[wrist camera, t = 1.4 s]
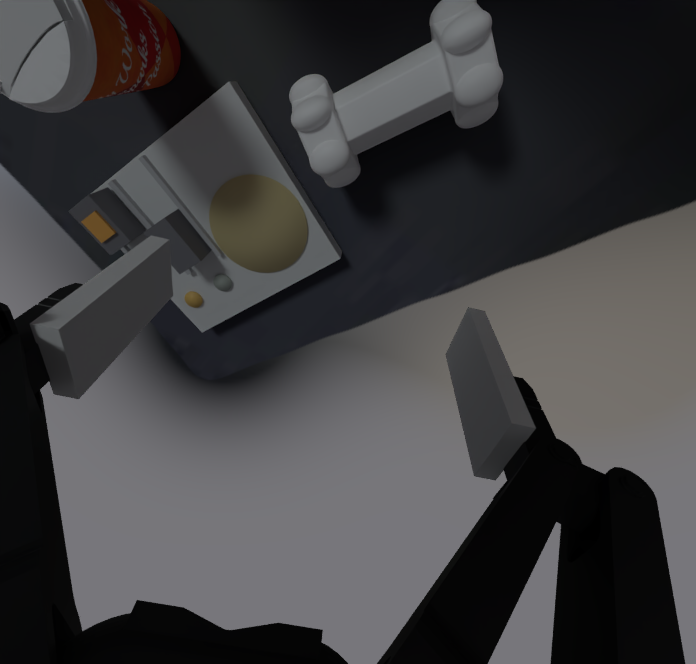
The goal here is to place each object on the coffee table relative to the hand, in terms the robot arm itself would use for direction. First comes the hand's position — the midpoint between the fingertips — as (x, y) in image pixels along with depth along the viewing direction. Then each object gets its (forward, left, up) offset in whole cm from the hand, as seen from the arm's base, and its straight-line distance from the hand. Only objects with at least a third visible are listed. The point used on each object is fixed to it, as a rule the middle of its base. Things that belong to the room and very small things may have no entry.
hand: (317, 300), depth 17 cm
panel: (-3, -15, -24) cm, 29 cm away
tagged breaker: (-9, -22, -22) cm, 33 cm away
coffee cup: (-18, -10, -25) cm, 32 cm away
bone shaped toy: (-4, +6, -25) cm, 26 cm away
